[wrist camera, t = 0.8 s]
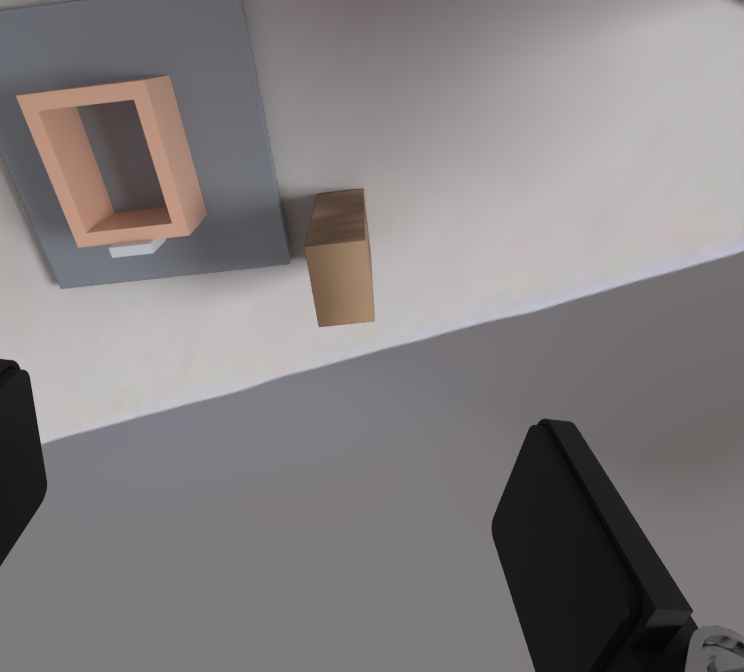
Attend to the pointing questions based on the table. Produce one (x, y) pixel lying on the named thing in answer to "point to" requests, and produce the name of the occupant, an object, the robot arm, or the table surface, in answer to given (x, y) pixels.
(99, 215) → the square base with socket
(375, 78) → the table surface
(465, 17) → the table surface
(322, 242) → the wooden rectangular block
